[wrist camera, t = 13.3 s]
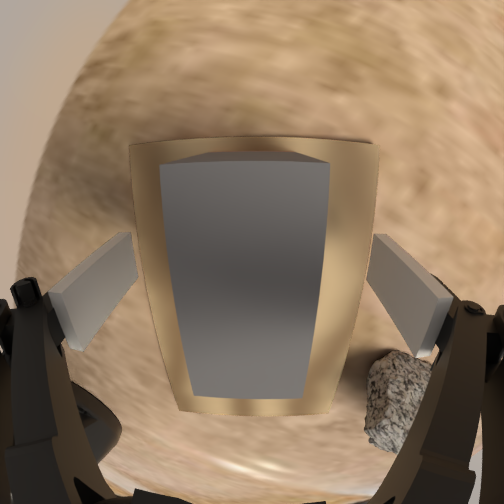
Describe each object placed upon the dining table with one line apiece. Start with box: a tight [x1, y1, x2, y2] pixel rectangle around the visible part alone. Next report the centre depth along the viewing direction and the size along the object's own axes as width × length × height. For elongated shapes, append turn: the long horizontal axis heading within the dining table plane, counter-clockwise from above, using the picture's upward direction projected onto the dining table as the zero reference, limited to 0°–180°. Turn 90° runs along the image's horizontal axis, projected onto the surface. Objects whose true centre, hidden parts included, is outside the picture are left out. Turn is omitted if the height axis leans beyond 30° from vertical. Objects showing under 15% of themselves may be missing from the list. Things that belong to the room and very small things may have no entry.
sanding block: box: [159, 151, 330, 399], centre depth 14 cm, size 10×5×9 cm, turn 0°
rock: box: [364, 350, 432, 455], centre depth 21 cm, size 16×8×10 cm, turn 40°
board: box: [129, 137, 380, 416], centre depth 21 cm, size 16×26×1 cm, turn 0°
